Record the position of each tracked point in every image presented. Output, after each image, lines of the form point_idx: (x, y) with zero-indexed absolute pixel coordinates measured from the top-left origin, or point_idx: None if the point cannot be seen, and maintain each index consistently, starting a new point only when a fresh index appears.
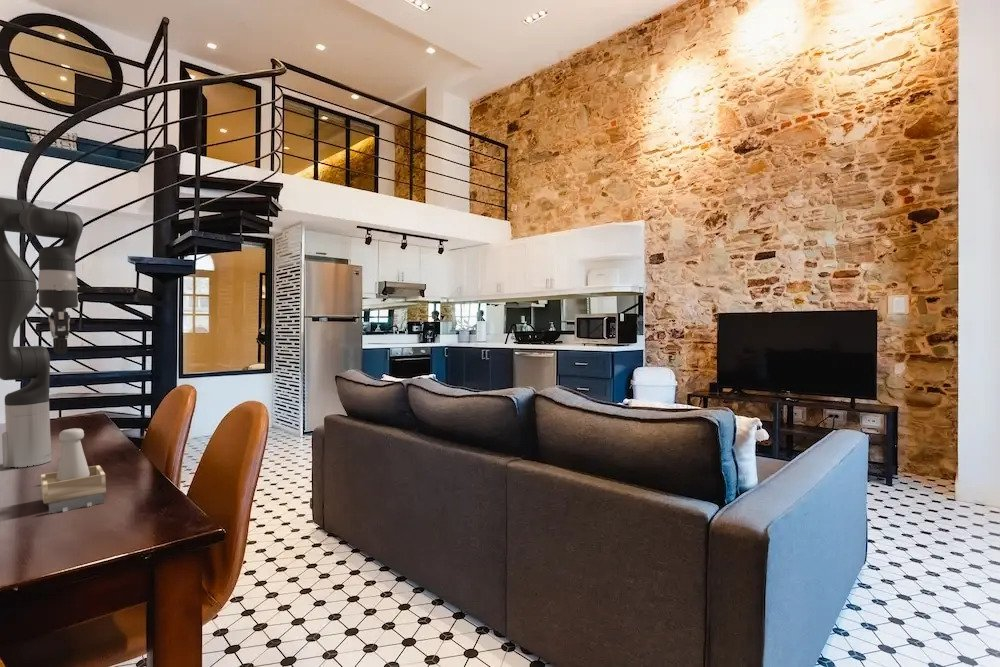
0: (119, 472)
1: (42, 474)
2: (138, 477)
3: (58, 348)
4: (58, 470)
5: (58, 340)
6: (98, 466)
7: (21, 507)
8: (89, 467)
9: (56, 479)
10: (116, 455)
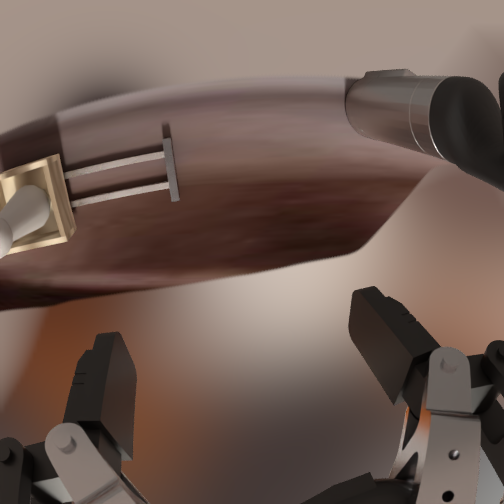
0: (178, 244)
1: (45, 161)
2: (122, 271)
3: (77, 367)
4: (15, 194)
5: (66, 419)
6: (57, 241)
7: (39, 133)
8: (59, 227)
9: (23, 186)
10: (330, 234)
